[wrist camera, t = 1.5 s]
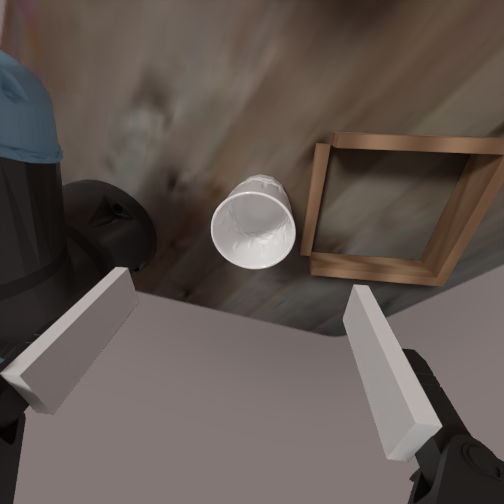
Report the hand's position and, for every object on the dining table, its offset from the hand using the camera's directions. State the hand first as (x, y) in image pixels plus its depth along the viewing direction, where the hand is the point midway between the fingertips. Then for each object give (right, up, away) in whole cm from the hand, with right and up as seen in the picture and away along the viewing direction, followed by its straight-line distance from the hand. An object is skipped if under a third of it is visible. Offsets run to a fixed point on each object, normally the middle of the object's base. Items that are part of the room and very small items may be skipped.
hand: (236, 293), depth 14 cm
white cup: (+2, +9, +16) cm, 19 cm away
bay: (+17, +8, +15) cm, 24 cm away
